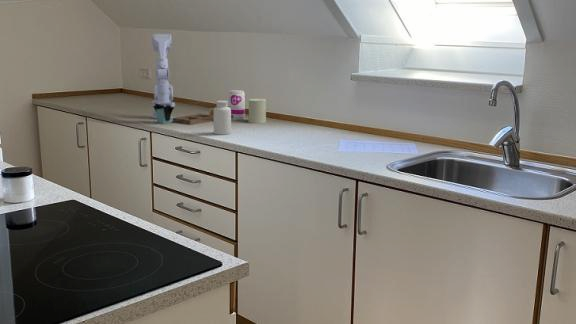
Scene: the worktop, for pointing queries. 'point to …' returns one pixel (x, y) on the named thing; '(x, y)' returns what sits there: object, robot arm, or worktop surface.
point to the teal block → (162, 117)
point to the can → (257, 110)
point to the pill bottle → (222, 118)
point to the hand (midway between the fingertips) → (164, 119)
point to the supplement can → (237, 104)
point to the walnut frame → (194, 119)
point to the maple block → (211, 111)
